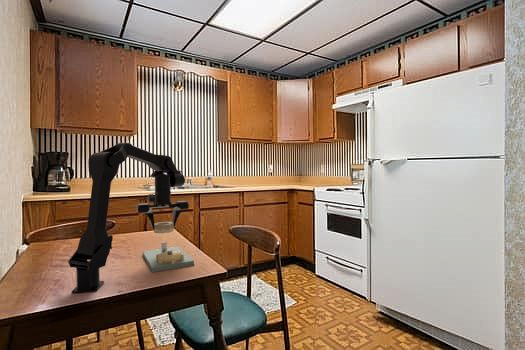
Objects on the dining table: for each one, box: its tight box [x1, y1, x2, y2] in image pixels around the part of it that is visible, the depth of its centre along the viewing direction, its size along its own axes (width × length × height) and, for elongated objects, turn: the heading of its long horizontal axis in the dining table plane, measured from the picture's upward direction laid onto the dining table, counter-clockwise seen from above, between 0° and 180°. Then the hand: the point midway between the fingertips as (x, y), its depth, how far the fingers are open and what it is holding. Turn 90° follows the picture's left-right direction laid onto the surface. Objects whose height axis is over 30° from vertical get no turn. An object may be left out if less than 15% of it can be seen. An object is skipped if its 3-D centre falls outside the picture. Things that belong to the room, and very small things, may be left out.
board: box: [142, 246, 195, 273], centre depth 109 cm, size 22×14×4 cm, turn 30°
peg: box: [160, 241, 168, 253], centre depth 113 cm, size 2×2×4 cm
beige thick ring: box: [152, 221, 175, 234], centre depth 113 cm, size 7×7×3 cm
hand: (163, 228), depth 113 cm, fingers closed on beige thick ring, 7 cm apart
